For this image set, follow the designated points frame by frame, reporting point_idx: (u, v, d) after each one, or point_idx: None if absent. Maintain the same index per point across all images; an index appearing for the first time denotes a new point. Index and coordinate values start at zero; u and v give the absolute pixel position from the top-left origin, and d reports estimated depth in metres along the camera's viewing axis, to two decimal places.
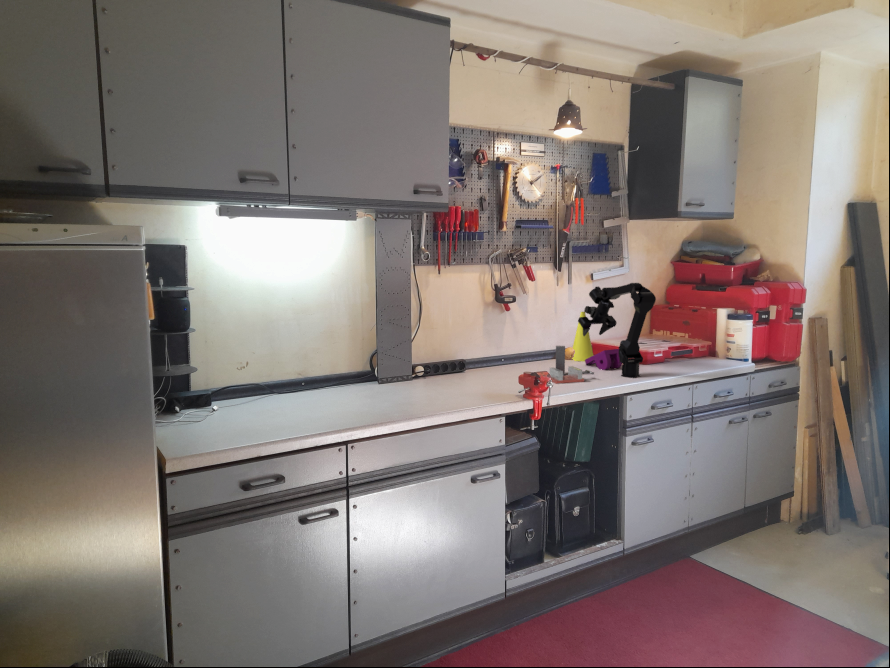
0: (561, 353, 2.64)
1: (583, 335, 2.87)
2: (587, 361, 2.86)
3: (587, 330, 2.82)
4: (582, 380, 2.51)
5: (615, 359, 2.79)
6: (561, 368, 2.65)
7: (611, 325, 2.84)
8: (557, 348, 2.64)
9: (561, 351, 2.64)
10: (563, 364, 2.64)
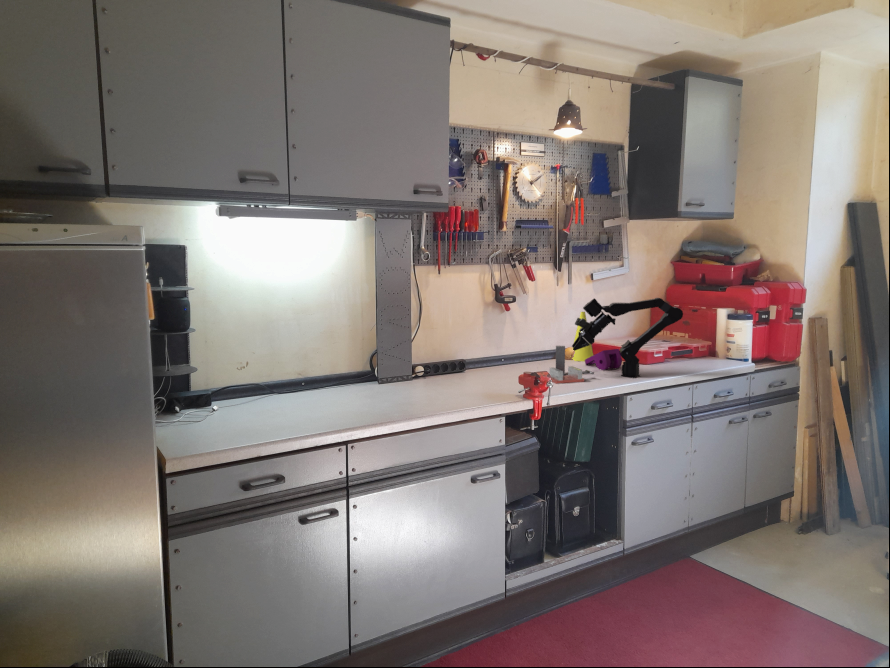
0: (561, 353, 2.64)
1: (573, 349, 2.60)
2: (587, 361, 2.86)
3: None
4: (582, 380, 2.51)
5: (615, 359, 2.79)
6: (561, 368, 2.65)
7: None
8: (557, 348, 2.64)
9: (561, 351, 2.64)
10: (563, 364, 2.64)
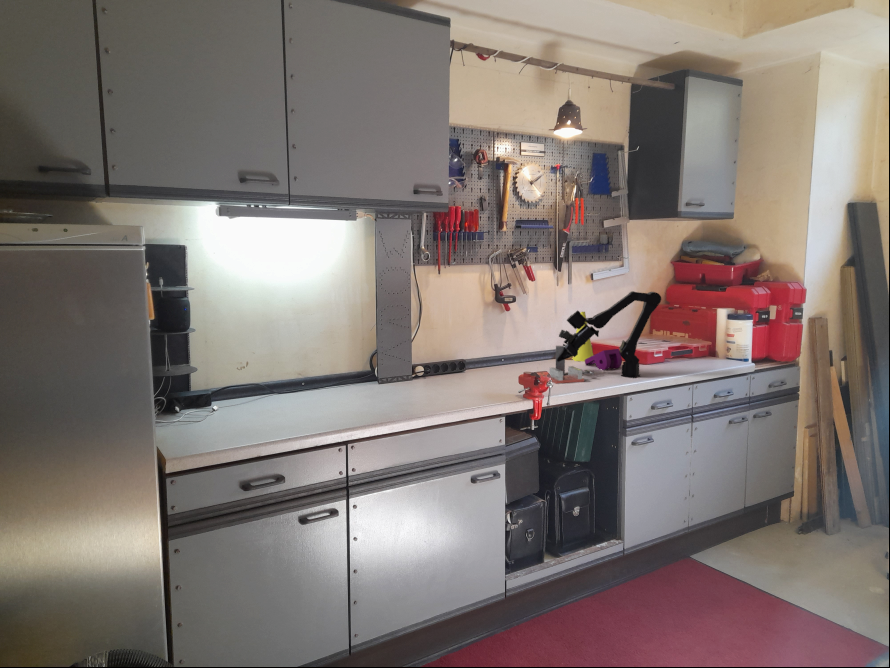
0: None
1: (557, 360, 2.64)
2: (587, 361, 2.86)
3: (569, 357, 2.62)
4: (582, 380, 2.51)
5: (615, 359, 2.79)
6: (561, 368, 2.65)
7: None
8: (557, 348, 2.64)
9: (561, 351, 2.64)
10: (563, 364, 2.64)
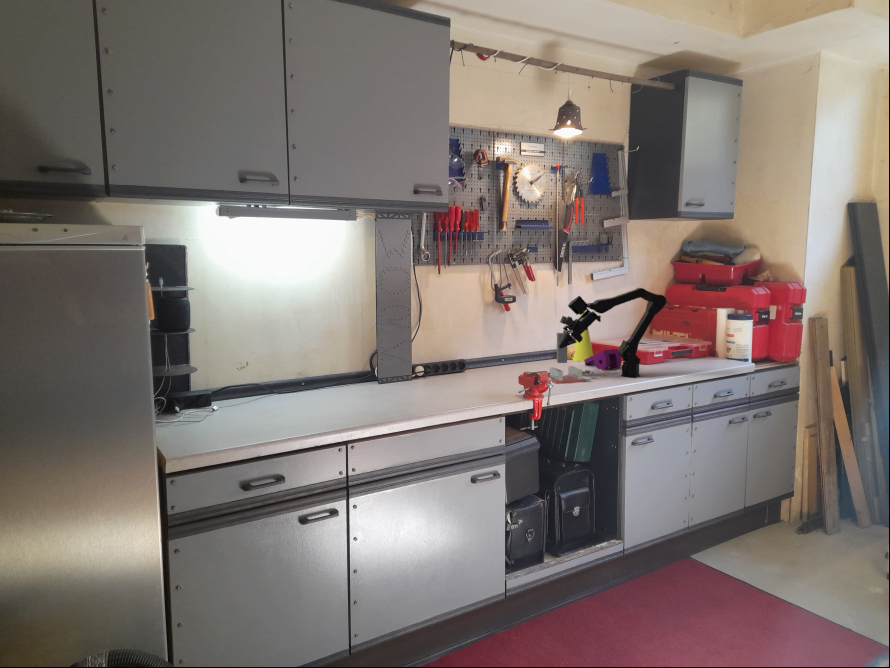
0: None
1: (560, 347, 2.59)
2: (586, 361, 2.86)
3: (572, 343, 2.58)
4: (582, 380, 2.51)
5: (614, 359, 2.79)
6: (563, 355, 2.60)
7: None
8: (559, 335, 2.59)
9: (564, 338, 2.59)
10: (565, 351, 2.60)
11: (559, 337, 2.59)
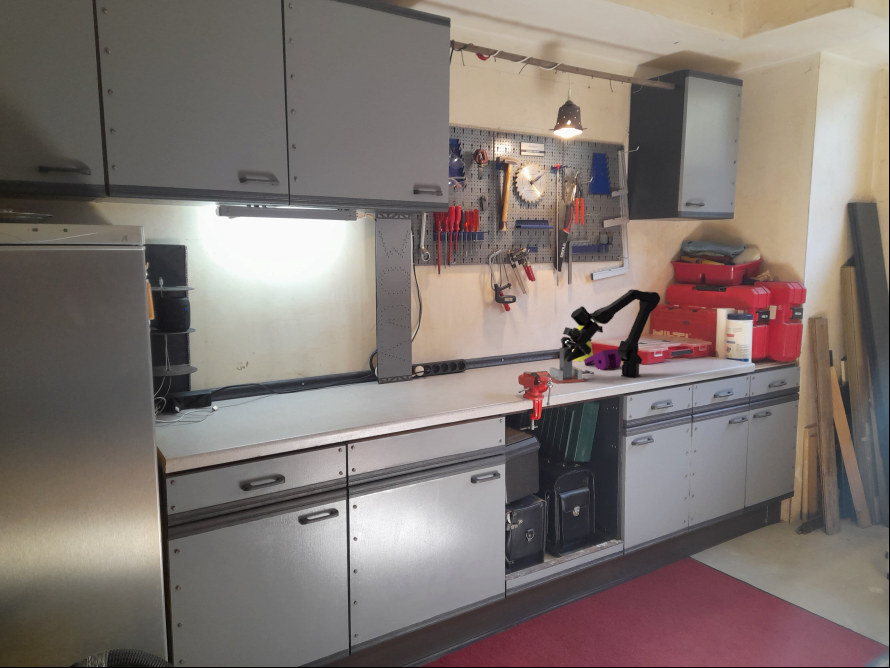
0: (569, 355, 2.51)
1: (568, 361, 2.48)
2: (586, 361, 2.87)
3: None
4: (582, 380, 2.51)
5: (614, 359, 2.79)
6: (568, 371, 2.52)
7: None
8: (565, 350, 2.50)
9: (569, 353, 2.51)
10: (570, 367, 2.52)
11: (564, 352, 2.50)
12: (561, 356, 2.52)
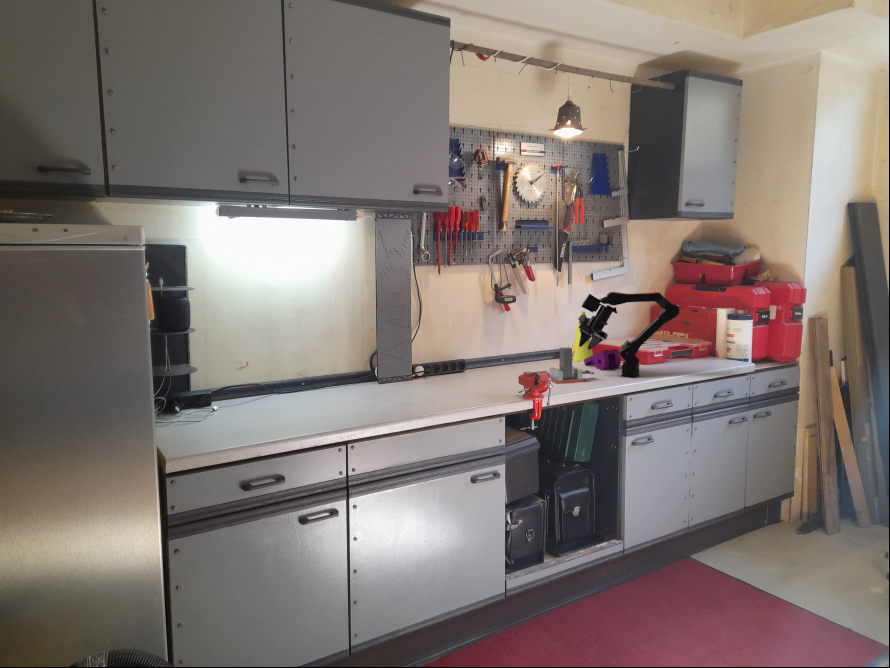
0: (569, 355, 2.51)
1: None
2: (586, 361, 2.87)
3: (589, 338, 2.57)
4: (582, 380, 2.51)
5: (613, 359, 2.79)
6: (568, 371, 2.52)
7: (604, 337, 2.66)
8: (565, 350, 2.50)
9: (569, 353, 2.51)
10: (570, 367, 2.52)
11: (564, 352, 2.50)
12: (561, 356, 2.52)
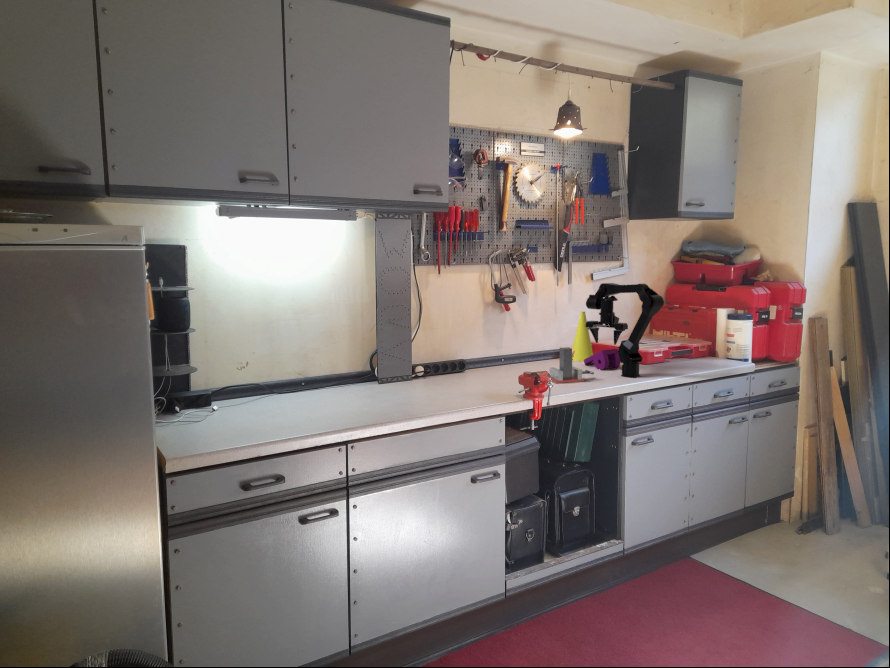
0: (569, 355, 2.51)
1: (596, 342, 2.75)
2: (586, 361, 2.87)
3: (592, 331, 2.73)
4: (582, 380, 2.51)
5: (613, 359, 2.79)
6: (568, 371, 2.52)
7: (616, 327, 2.64)
8: (565, 350, 2.50)
9: (569, 353, 2.51)
10: (570, 367, 2.52)
11: (564, 352, 2.50)
12: (561, 356, 2.52)
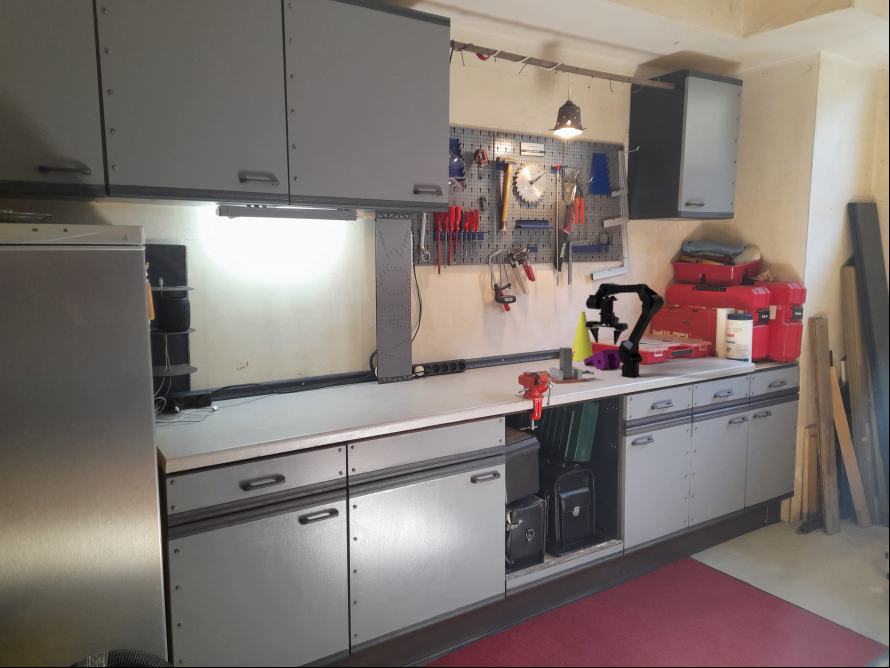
0: (569, 355, 2.51)
1: (596, 342, 2.75)
2: (586, 361, 2.87)
3: (592, 331, 2.73)
4: (582, 380, 2.51)
5: (613, 359, 2.79)
6: (568, 371, 2.52)
7: (616, 327, 2.64)
8: (565, 350, 2.50)
9: (569, 353, 2.51)
10: (570, 367, 2.52)
11: (564, 352, 2.50)
12: (561, 356, 2.52)
